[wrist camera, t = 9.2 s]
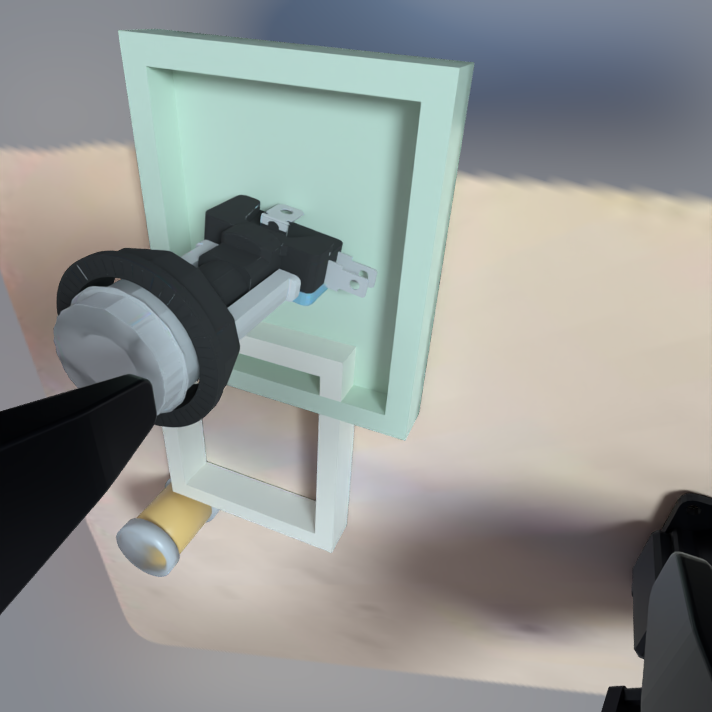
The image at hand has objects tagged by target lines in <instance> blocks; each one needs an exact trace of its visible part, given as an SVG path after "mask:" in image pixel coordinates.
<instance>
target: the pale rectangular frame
mask: <svg viewBox="0 0 712 712" xmlns="http://www.w3.org/2000/svg"><path fill="white" fill-rule="evenodd" d="M239 343H240V351H239V353H240V354H244V355H247V356H251V357H254V358H258V359H261V360H264V361H268V362H271V363H275V364H278V365H282V366H285V367H288V368H292V369H295V370H299V371H302V372H306V373H309V374H312V375H316V376H319V377H320V395H319V396H322V397H326V398H329V399H332V400H335V401H339V402H341V401H342V400H343V398H344V397H345V396H346V394H347V393H348V391H349V390H350V389H351V387H352V386H353V382H354V368H355V355H356V347H355V346H351V345H348V344H344V343H340V342H337V341H333V340H329V339H326V338H322V337H318V336H314V335H311V334H307V333H303V332H300V331H296V330H292V329H288V328H285V327H281V326H277V325H274V324H270V323H266V322H262V321H261V322H260V323H259V324H258V325H257V326H256V327H254V328H253V329H252V330H251V331H250V332H249V333H247V334H246V335H245V336H244V337H243V338H242V339H241V340H239ZM194 384H198V383H197V381H196V382H195V383H194ZM354 427H355V425H353V424H350V423H347V422H344V421H341V420H337V419H334V418H331V417H328V416H325V415H321V414H319V426H318V458H317V489H316V501H314V500H311V499H308V498H305V497H303V496H300V495H297V494H294V493H292V492H289V491H286V490H283V489H281V488H278V487H275V486H272V485H270V484H267V483H264V482H261V481H259V480H256V479H253V478H250V477H248V476H245V475H242V474H239V473H237V472H234V471H231V470H228V469H225V468H223V467H220V466H217V465H214V464H212V463H209V462H207V460H206V451H205V443H204V434H203V426H202V419H201V420H200V421H198V422H196V423H194V424H192V425H189V426H185V427H174V428H173V427H163V426H162V429H163V435H164V441H165V447H166V453H167V459H168V465H169V471H170V477H171V483H172V489H173V492H176V493H179V494H181V495H184V496H186V497H189V498H192V499H194V500H197V501H199V502H202V503H204V504H207V505H210V506H212V507H215V508H217V509H220V510H222V511H225V512H228V513H230V514H233V515H235V516H238V517H240V518H243V519H246V520H248V521H251V522H253V523H256V524H259V525H261V526H264V527H266V528H269V529H271V530H274V531H277V532H279V533H282V534H284V535H287V536H289V537H292V538H295V539H297V540H300V541H302V542H305V543H307V544H310V545H313V546H315V547H318V548H320V549H323V550H326V551H328V552H331V553H332V552H333V550H334V548H335V546H336V544H337V543H338V541H339V539H340V537H341V535H342V533H343V531H344V529H345V528H346V526H347V516H348V503H349V491H350V478H351V465H352V452H353V439H354Z"/></svg>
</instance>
